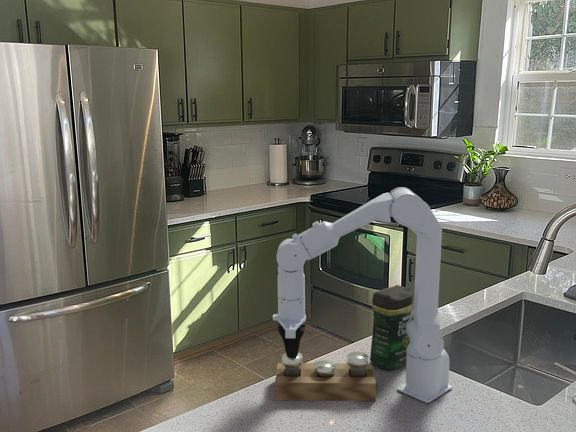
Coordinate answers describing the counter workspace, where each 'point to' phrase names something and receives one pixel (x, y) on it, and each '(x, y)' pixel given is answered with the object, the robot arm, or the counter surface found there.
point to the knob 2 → (357, 363)
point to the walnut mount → (325, 384)
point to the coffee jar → (390, 327)
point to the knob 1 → (292, 365)
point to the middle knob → (324, 368)
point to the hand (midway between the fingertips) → (292, 356)
